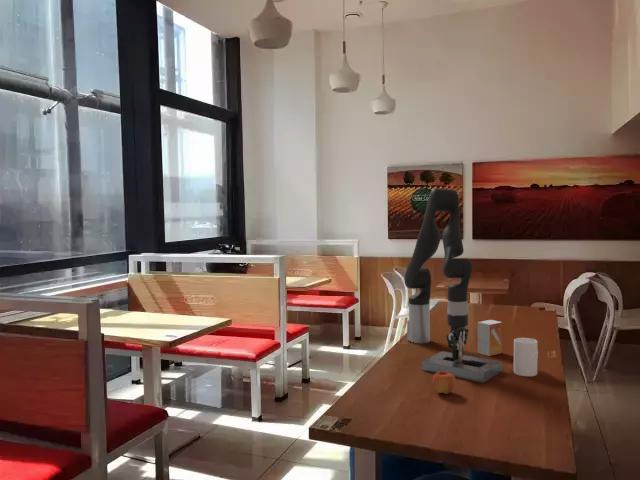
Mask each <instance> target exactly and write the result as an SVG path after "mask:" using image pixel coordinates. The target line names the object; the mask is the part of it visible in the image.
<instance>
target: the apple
mask: <svg viewBox="0 0 640 480" xmlns="http://www.w3.org/2000/svg"><path fill="white" fill-rule="evenodd" d="M439 369H440V368H439ZM456 382H457V380H456V377H455V376H454V375H453V374H452V373H449V372H445V371H440V372H437V373H434V374H433V375H432V385H433V387H434V390H436V392H438V394H444V395H448V394H450V393H451V392H452V391H453V390H454V389H455V386H456Z"/></svg>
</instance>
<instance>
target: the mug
mask: <svg viewBox="0 0 640 480" xmlns="http://www.w3.org/2000/svg"><path fill="white" fill-rule="evenodd" d="M538 358H539V351H538V340H537V339H535V338H530V337H517V338H514V339H513V373H514V374H515V375H517V376H520V377H521V376H522V377H535V376H537V375H538Z"/></svg>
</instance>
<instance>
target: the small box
mask: <svg viewBox="0 0 640 480" xmlns="http://www.w3.org/2000/svg"><path fill="white" fill-rule="evenodd" d="M477 353H478V354H481V355H484V356H488V357H491V356H495V355H499V354H503V322H502V321H498V320H494V319H487V320H483V321H478V322H477Z"/></svg>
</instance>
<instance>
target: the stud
mask: <svg viewBox="0 0 640 480" xmlns="http://www.w3.org/2000/svg"><path fill="white" fill-rule="evenodd" d="M455 341H458V340H455ZM458 350H459V359H458V360H455V359H454V362H458V363H462V337H461V341H460V344H459V349H458Z"/></svg>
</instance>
